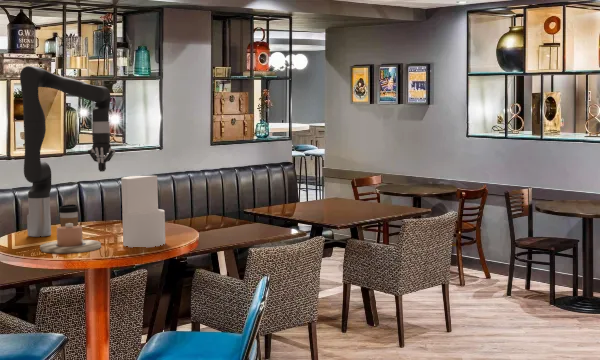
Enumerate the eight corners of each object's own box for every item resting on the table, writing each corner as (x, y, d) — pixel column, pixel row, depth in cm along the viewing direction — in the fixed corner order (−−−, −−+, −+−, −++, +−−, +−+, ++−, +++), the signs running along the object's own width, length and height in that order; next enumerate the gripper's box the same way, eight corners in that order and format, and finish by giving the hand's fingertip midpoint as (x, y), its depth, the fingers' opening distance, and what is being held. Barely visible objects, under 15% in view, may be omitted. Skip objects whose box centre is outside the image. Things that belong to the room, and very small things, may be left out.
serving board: (27, 251, 332) (27, 248, 332) (61, 242, 355) (61, 238, 355) (80, 254, 325) (80, 250, 325) (111, 244, 348) (111, 240, 348)
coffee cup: (83, 238, 363) (82, 204, 362) (72, 241, 355) (71, 207, 354) (67, 238, 366) (65, 204, 364) (55, 241, 358) (54, 206, 356)
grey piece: (114, 245, 346) (112, 178, 343) (144, 239, 360) (142, 175, 357) (144, 249, 336) (142, 180, 333) (174, 242, 350) (172, 176, 348)
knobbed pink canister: (52, 246, 336) (51, 225, 335) (66, 242, 345) (65, 221, 345) (73, 247, 333) (72, 226, 332) (87, 243, 342) (86, 222, 341)
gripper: (83, 132, 363) (84, 171, 365) (110, 132, 359) (111, 172, 361) (92, 131, 370) (93, 170, 372) (118, 131, 366) (119, 170, 368)
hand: (102, 171), depth 366 cm, fingers closed
